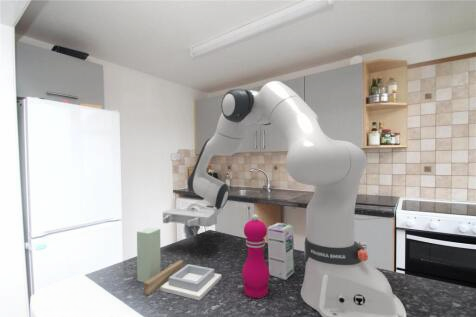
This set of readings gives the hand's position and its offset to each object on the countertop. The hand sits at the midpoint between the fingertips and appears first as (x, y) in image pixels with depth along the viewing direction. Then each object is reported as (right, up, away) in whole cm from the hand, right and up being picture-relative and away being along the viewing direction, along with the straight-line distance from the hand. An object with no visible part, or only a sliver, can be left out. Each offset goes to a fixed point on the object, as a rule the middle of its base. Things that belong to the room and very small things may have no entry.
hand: (175, 222), depth 82 cm
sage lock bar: (-5, -13, -12) cm, 18 cm away
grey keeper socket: (+9, -13, -15) cm, 22 cm away
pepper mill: (+26, -13, -19) cm, 35 cm away
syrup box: (+34, -13, -10) cm, 38 cm away
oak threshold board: (+1, -13, -14) cm, 19 cm away
